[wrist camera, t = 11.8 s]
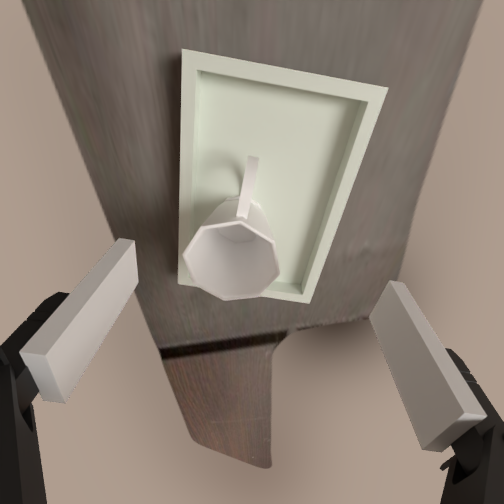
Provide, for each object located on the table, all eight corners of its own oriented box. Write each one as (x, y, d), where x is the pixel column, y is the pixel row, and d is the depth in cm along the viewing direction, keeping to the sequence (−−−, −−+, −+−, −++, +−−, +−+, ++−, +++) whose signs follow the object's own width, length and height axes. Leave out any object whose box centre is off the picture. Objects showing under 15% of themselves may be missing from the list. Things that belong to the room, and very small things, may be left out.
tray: (190, 51, 20) (181, 48, 18) (376, 86, 21) (388, 87, 19) (183, 269, 31) (177, 283, 29) (306, 288, 32) (309, 303, 30)
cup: (199, 239, 28) (178, 293, 21) (213, 136, 23) (189, 162, 16) (268, 253, 28) (268, 309, 22) (296, 155, 23) (309, 188, 16)
